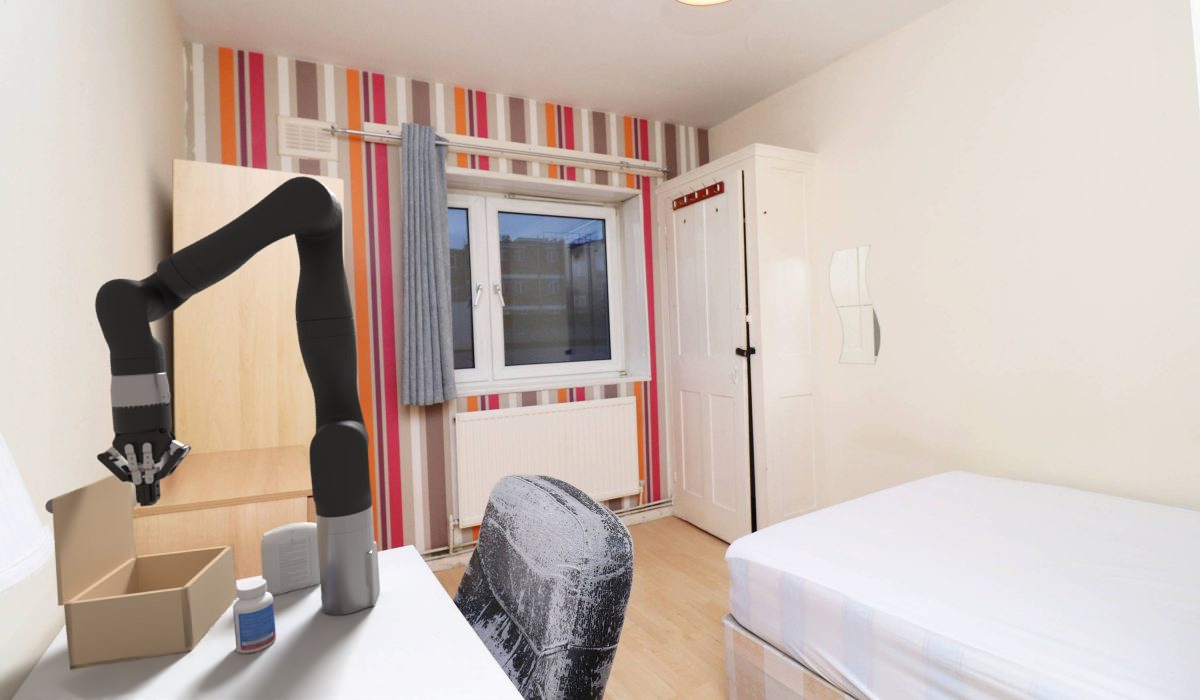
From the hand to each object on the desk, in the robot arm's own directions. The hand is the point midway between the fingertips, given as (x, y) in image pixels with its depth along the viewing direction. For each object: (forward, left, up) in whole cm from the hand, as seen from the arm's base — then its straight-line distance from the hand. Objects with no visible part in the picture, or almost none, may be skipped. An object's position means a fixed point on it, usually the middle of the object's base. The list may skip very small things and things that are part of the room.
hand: (149, 504), depth 93 cm
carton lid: (+7, 0, -4) cm, 8 cm away
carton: (-1, 0, -22) cm, 22 cm away
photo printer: (-18, -10, -22) cm, 30 cm away
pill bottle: (-18, +10, -22) cm, 30 cm away
